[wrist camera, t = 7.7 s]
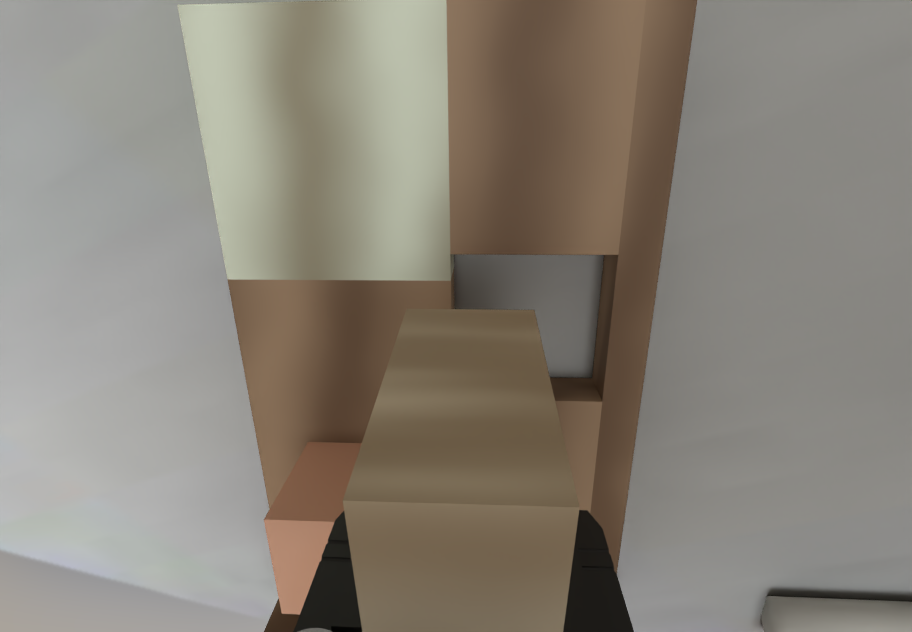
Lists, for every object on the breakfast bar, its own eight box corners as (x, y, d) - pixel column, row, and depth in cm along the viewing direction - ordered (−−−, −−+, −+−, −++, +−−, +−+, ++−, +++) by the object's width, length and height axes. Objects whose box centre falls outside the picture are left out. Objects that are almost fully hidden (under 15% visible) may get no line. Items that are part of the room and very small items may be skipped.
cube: (412, 444, 21) (393, 523, 17) (416, 527, 22) (400, 618, 18) (308, 441, 21) (263, 519, 17) (319, 523, 23) (281, 613, 18)
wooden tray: (674, 6, 16) (799, -75, 10) (601, 583, 26) (640, 738, 19) (210, 18, 17) (44, -50, 11) (300, 571, 27) (240, 715, 20)
